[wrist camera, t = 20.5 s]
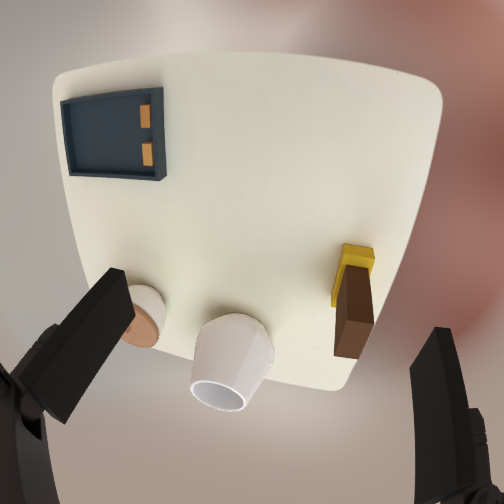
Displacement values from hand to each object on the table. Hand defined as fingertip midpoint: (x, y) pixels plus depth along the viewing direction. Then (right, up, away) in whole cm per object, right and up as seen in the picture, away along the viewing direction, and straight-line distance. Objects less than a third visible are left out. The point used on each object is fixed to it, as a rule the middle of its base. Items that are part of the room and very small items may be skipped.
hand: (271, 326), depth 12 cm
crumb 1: (-14, +20, +23) cm, 33 cm away
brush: (+13, 0, +29) cm, 32 cm away
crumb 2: (-14, +16, +26) cm, 33 cm away
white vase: (-3, -11, +41) cm, 42 cm away
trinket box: (-20, -5, +42) cm, 47 cm away
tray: (-20, +20, +26) cm, 38 cm away
